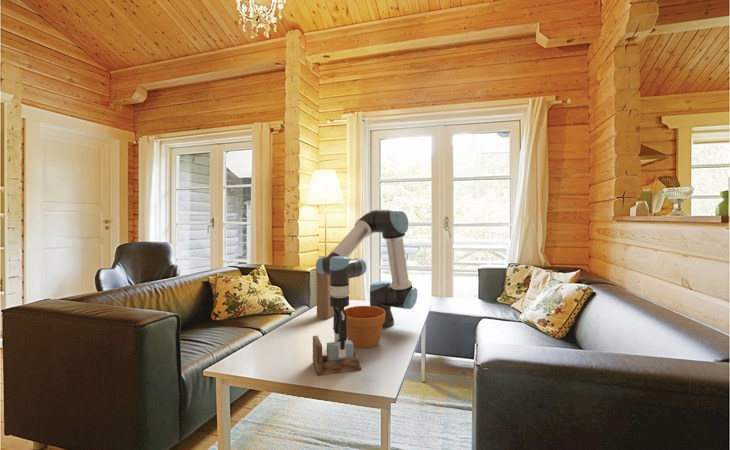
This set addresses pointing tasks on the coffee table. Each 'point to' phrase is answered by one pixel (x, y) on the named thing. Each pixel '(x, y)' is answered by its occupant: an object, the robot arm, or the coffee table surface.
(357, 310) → the flower pot
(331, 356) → the blue-gray rectangular block
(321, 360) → the track
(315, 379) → the coffee table surface
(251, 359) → the coffee table surface
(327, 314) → the decorative block
